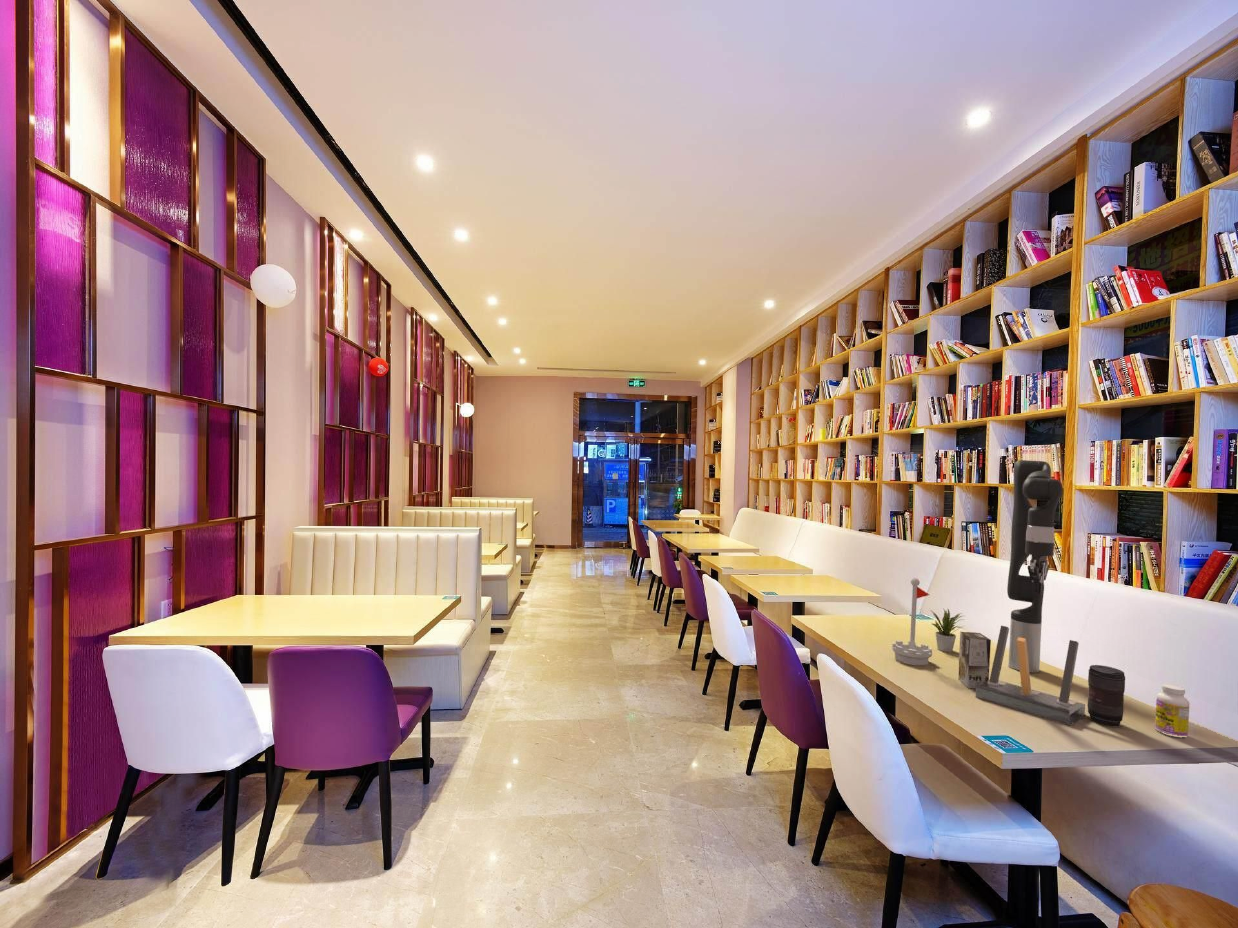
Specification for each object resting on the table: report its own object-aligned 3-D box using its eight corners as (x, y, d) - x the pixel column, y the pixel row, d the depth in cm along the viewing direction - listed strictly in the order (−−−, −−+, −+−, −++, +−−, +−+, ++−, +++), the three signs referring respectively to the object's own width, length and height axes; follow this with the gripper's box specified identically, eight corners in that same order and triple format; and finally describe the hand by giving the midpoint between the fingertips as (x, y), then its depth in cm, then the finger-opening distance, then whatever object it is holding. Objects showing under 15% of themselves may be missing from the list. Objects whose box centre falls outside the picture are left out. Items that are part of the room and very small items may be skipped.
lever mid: (1022, 692, 181) (1016, 636, 177) (1033, 695, 179) (1027, 638, 175) (1020, 695, 180) (1014, 639, 176) (1031, 698, 178) (1025, 642, 174)
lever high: (1057, 705, 174) (1069, 641, 179) (1069, 708, 172) (1080, 643, 177) (1056, 703, 173) (1067, 639, 178) (1067, 706, 171) (1079, 641, 176)
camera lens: (1079, 718, 173) (1082, 665, 173) (1097, 714, 176) (1099, 663, 176) (1112, 729, 165) (1114, 675, 165) (1129, 726, 168) (1132, 672, 169)
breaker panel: (993, 688, 194) (993, 676, 194) (1084, 714, 176) (1085, 701, 176) (975, 696, 186) (976, 684, 186) (1069, 725, 167) (1070, 711, 167)
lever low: (988, 685, 188) (1001, 626, 193) (998, 688, 186) (1011, 628, 191) (986, 683, 187) (999, 625, 192) (996, 686, 185) (1009, 627, 190)
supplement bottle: (1148, 728, 168) (1150, 681, 168) (1170, 728, 168) (1172, 682, 169) (1172, 738, 161) (1174, 690, 161) (1194, 739, 162) (1197, 691, 162)
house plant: (976, 657, 228) (978, 614, 228) (939, 655, 228) (941, 612, 229) (956, 646, 243) (958, 605, 243) (921, 644, 243) (923, 603, 243)
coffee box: (989, 690, 192) (991, 639, 192) (967, 688, 193) (969, 637, 194) (978, 681, 201) (980, 632, 201) (957, 678, 202) (959, 630, 202)
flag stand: (885, 658, 221) (889, 576, 221) (900, 652, 230) (904, 573, 230) (922, 668, 212) (927, 582, 212) (937, 661, 220) (941, 579, 220)
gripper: (1033, 538, 202) (1031, 590, 202) (1019, 539, 194) (1016, 593, 193) (1060, 540, 196) (1057, 594, 196) (1046, 542, 188) (1044, 598, 188)
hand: (1037, 593), depth 195 cm, fingers closed
